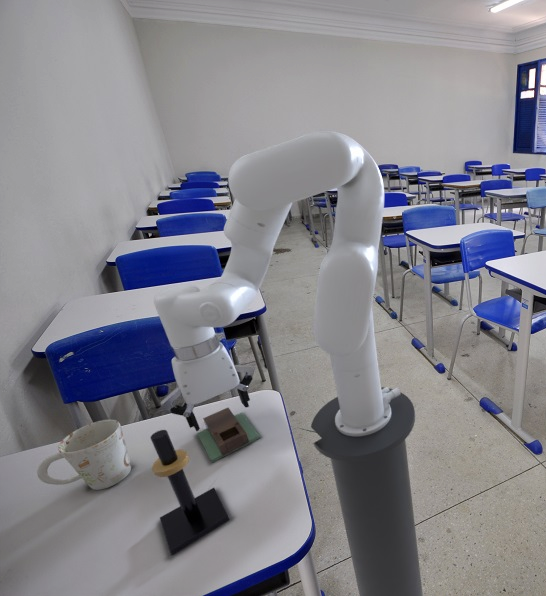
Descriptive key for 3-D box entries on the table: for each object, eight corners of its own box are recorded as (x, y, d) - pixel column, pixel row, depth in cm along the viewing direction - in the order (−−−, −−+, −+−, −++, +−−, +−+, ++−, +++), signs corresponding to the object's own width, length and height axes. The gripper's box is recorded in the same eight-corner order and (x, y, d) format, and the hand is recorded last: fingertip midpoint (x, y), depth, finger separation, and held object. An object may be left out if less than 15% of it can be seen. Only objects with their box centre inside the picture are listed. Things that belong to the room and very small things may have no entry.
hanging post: (215, 491, 67) (184, 409, 60) (229, 519, 61) (197, 433, 55) (161, 521, 61) (120, 435, 55) (171, 555, 56) (127, 464, 49)
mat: (242, 414, 86) (241, 412, 86) (260, 437, 79) (259, 435, 78) (197, 435, 80) (197, 433, 80) (212, 462, 73) (211, 460, 73)
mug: (137, 480, 70) (116, 438, 66) (44, 517, 63) (15, 472, 59) (140, 453, 76) (122, 413, 72) (56, 483, 70) (31, 442, 66)
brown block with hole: (249, 442, 77) (246, 432, 76) (222, 456, 74) (219, 446, 73) (231, 416, 85) (228, 407, 84) (206, 427, 82) (203, 418, 81)
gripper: (236, 326, 83) (257, 390, 89) (140, 358, 72) (171, 429, 78) (248, 336, 77) (269, 403, 84) (146, 372, 67) (179, 446, 73)
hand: (222, 415), depth 81 cm, fingers open, 9 cm apart
